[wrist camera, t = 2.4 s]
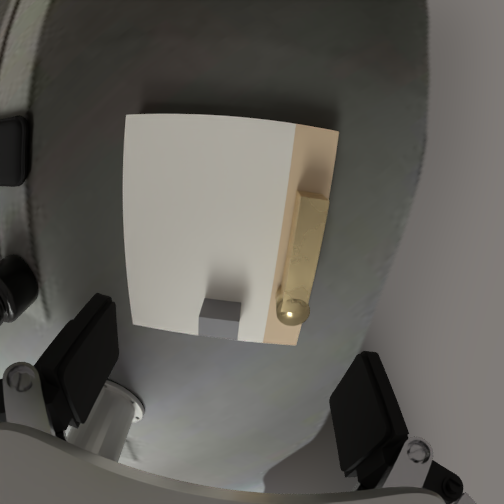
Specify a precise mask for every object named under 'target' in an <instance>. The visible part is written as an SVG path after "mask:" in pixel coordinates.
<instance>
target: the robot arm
mask: <svg viewBox="0 0 504 504" xmlns="http://www.w3.org/2000/svg"><path fill="white" fill-rule="evenodd" d="M118 356H119V348H118V337H117V323H116V305H115V302H112V298H111V297H109V296H106V295H103V294H100V293H96V294H95V295H94V296H93V297H92V298H91V300H90V301H89V302H88V303H87V304H86V305H85V307H84V308H83V309H82V310H81V311H80V312H79V314H78V315H77V316H76V317H75V318H74V320H70V321H69V322H68V323H67V324H66V325H65V327H64V328H63V329H62V330H61V331H60V333H59V334H58V335H57V336H56V338H55V339H54V340H53V341H52V343H51V344H50V345H49V347H48V348H47V349H46V350H45V352H44V353H43V354H42V356H41V357H40V358H39V360H38V361H37V362H36V364H35V365H34V366H32V365H31V364H29V363H26V362H17V363H14V364H12V365H10V366H9V367H8V368H7V369H6V370H5V372H4V374H3V379H0V504H476V503H475V502H474V500H473V499H472V498H471V497H470V496H469V495H468V494H467V493H466V492H465V493H463V483H462V481H461V479H460V478H459V477H458V476H457V475H456V474H454V473H453V472H451V471H449V470H447V469H446V468H444V467H443V466H441V465H440V464H438V463H436V462H435V461H433V460H432V459H433V450H432V448H431V445H430V444H429V443H428V442H427V441H426V440H425V439H423V438H421V437H411V438H409V439H408V436H407V435H408V434H409V432H408V429H407V427H406V424H405V421H404V418H403V416H402V413H401V410H400V407H399V405H398V402H397V399H396V397H395V394H394V392H393V389H392V387H391V384H390V382H389V379H388V377H387V374H386V372H385V369H384V367H383V365H382V362H381V360H380V357H379V355H378V354H377V353H376V352H369V351H363V352H361V354H358V355H357V356H356V357H355V359H354V361H353V362H352V364H351V366H350V367H349V369H348V370H347V372H346V373H345V375H344V377H343V378H342V380H341V381H340V383H339V384H338V386H337V387H336V389H335V390H334V392H333V393H332V395H331V397H330V402H329V403H330V409H331V414H332V420H333V425H334V430H335V437H336V442H337V449H338V455H339V461H340V467H341V470H342V471H344V473H345V477H356V476H357V477H358V483H357V484H356V486H355V487H354V489H353V490H352V491H351V492H340V493H324V494H273V493H257V492H246V491H236V490H228V489H221V488H215V487H209V486H203V485H198V484H193V483H188V482H183V481H179V480H175V479H170V478H166V477H163V476H159V475H155V474H152V473H148V472H145V471H142V470H138V469H135V468H132V467H129V466H126V465H123V464H121V463H118V460H119V457H120V455H121V452H122V449H123V446H124V443H125V440H126V438H127V435H128V432H129V429H130V426H131V424H132V423H134V422H138V421H140V420H141V419H142V418H143V415H144V408H143V405H142V404H141V402H140V401H139V400H138V398H136V397H135V396H134V395H133V394H132V393H131V392H130V391H128V390H127V389H125V388H124V387H122V386H120V385H118V384H116V383H114V382H112V381H109V380H107V378H108V377H109V375H110V373H111V371H112V369H113V367H114V365H115V363H116V362H117V359H118ZM68 425H71V426H72V427H71V429H70V432H69V434H68V436H66V433H65V430H66V429H67V427H68Z"/></svg>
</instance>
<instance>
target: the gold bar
mask: <svg viewBox="0 0 504 504" xmlns="http://www.w3.org/2000/svg"><path fill="white" fill-rule="evenodd" d="M329 202H330V201H329V200H328V199H327V198H326V197H325V196H324V195H323V194H321V193H314V192H307V191H300V190H297V191H296V197H295V204H294V210H293V217H292V223H291V229H290V236H289V242H288V248H287V254H286V260H285V265H284V271H283V277H282V283H281V287H280V288H279V289H278V290H277V292H276V295H275V301H276V313H277V318H278V320H279V321H280V322H281V323H282V324H284V325H287V326H296V325H300V324H302V323H303V322H305V321H306V320H307V318H308V317H309V314H310V308H309V305H308V302H309V297H310V293H311V289H312V285H313V280H314V276H315V271H316V267H317V262H318V258H319V253H320V248H321V244H322V239H323V234H324V229H325V223H326V218H327V213H328V208H329Z"/></svg>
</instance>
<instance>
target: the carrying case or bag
mask: <svg viewBox="0 0 504 504" xmlns="http://www.w3.org/2000/svg"><path fill="white" fill-rule="evenodd" d="M28 134H29V127H28V123H27V121H26V119H25V118H24V117H22V116H15V117H11V118H6V119H1V120H0V186H20V185H22V184H23V182H24V181H25V179H26V176H27V157H28Z"/></svg>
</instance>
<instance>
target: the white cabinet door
mask: <svg viewBox="0 0 504 504" xmlns="http://www.w3.org/2000/svg"><path fill="white" fill-rule="evenodd" d="M338 135H339V131H334V130H329V129H324V128H318V127H313V126H307V125H301V124H294V123H287V122H280V121H273V120H264V119H255V118H245V117H234V116H220V115H201V114H134V115H126V122H125V136H124V155H123V224H124V244H125V259H126V270H127V281H128V290H129V298H130V306H131V314H132V321H133V324H134V325H139V326H144V327H150V328H155V329H161V330H167V331H173V332H179V333H185V334H192V335H199V336H206V337H214V338H222V339H230V340H239V341H249V342H259V343H271V344H283V345H296V344H297V340H298V336H299V332H300V328H301V325H302V324H300V325H296V326H287V325H284V324H282V323H281V322H280V321H279V320H278V318H277V313H276V301H275V295H276V292H277V290H278V289H279V288H280V287H281V283H282V277H283V271H284V265H285V260H286V254H287V248H288V242H289V236H290V229H291V223H292V217H293V210H294V204H295V197H296V191H297V190H300V191H307V192H314V193H321V194H323V195H324V196H325V197H326V198H327V199H329V194H330V188H331V182H332V176H333V170H334V163H335V157H336V150H337V143H338Z"/></svg>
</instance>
